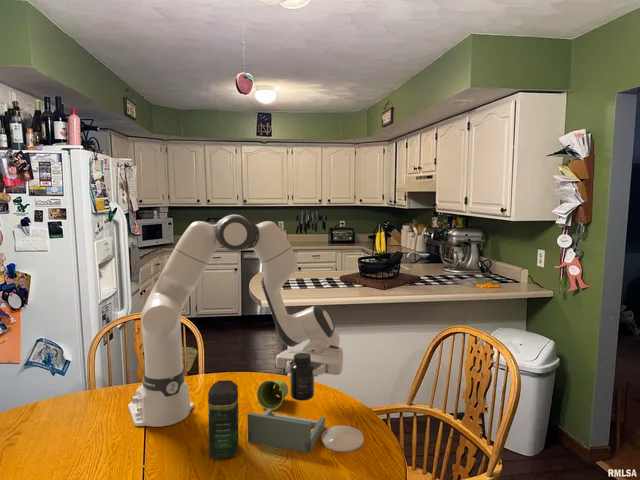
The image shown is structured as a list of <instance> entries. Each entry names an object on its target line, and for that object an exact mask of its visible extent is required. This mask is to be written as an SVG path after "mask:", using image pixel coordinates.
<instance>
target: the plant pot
mask: <svg viewBox="0 0 640 480" xmlns="http://www.w3.org/2000/svg"><path fill="white" fill-rule="evenodd" d="M257 387H258V388H257V391H256V398H257V402H258V404H259V405H260V406H261V407H262V408H264V409H265V410H267V409H268V408H270V409H272V411H274V410H277V409H279V407H281V406H282V404H283V402H284V400H285V398H286V397H287V396H288V394H289V387H288V384H287V383H286V382H285V381H284V380H281V379H280V380H279V379H278V380H270V379H269V380H268V379H267V380H265V381H262V382H261V383H260V384H259V386H257Z"/></svg>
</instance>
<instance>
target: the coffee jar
mask: <svg viewBox="0 0 640 480" xmlns="http://www.w3.org/2000/svg"><path fill="white" fill-rule="evenodd" d="M207 397H208V398H207V403H208V405H207V407H208V408H207V410H208V411H207V412H208V413H207V414H208V455H209V457H211V458H212V459H217V460H226V459H230V458H232V457H234V456H236V454H237V453H238V449H239V419H240V418H239V412H240V411H239V386H238V384H237V383H236V382H234V381H233V380H230V379H229V380H217V381H216V382H214V383H213V384H212V385H211V386H210V388H209V391H208V394H207Z"/></svg>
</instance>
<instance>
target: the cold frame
mask: <svg viewBox="0 0 640 480" xmlns="http://www.w3.org/2000/svg"><path fill="white" fill-rule="evenodd" d="M325 420H326V417H323V416H320V418H319V419H318V420H313V419H309V418H308V419H307V418H301V417H295V416H291V415H290V416H289V415H283V414H279V413H273V410H272V409H270V408H268V409H265V412H264V413H263V414H261V413H256V412H248V413H247V442H249V443H254V444H259V445H264V446H270V447H275V448H280V449H285V450H291V451H297V452H301V453H307V454H310V453H311V451H312V450H313V448H314V447H315V445H316V442H317V441H318V439H319V437H320V436H321V435H322V433H323V432H324V429H325V426H326V421H325ZM312 428H313V429H312Z"/></svg>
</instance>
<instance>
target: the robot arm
mask: <svg viewBox="0 0 640 480" xmlns="http://www.w3.org/2000/svg"><path fill="white" fill-rule="evenodd" d="M219 248H225V250H227V251H231V252H239V251H243V250H244V251H245V250H248V249H249V250H250V249H251V250H253V252H254V253H255V254H256V256H257V257H258V259H259V261H260V263H261V265H262V269H263V277H262V278H261V286H262V289H263V293H264V296H265V300H266V301H267V304H268V307H269V310H270V313H271V316H272V318H273V322H274V324H275V329H276V334H277V338H278V339H279V341H280V342H281V343H282V344H284V345H285V346H287V347H291V348H293V347H295V346H298V345H300V344H302V343H303V342H306V341H308V340H309V342H308V343H307V344H306V345H305V346H304V347H303V348H302V350H299V349H285V350H283V351H282V352H280V353H278V354H277V355H276V358H275V365H276V367H277V368H278V369H285V373H287V374H290V368H291V366H292V365H293V364H294V355H295V354H298V353H307V354H309V355H310V360H311V362H310V363H311V364H312V365H313V366H314V370H313V376H314V377H317V378H318V377H319V376H321V375H323V374H324V375H325V374H327V375H334V376H339V375H341V374H342V372H343V368H344V367H343V364H344V351H343V348H342V347H339V346H340V342H341V341H340V336H339V335H340V334H339V333H338V332H337V330H336V329H335V323H334V320H333V318H332V316H331V314H330V313H329V311H328V310H327V309H325V308H324V307H323V306H320V305H317V304H316V305H313V306H311V307H307V308H305V309H304V310H301V311H298V312H296V313H293V314H289V313H288V312H287V309H286V306H285V303H284V300H283V297H282V294H281V289H282V287H283V285H284V284H285V283H286V282H287V281H289V279H290V278H291V277H292V276H293V274H294V273H295V271H296V270H297V266H298V259H297V255H296V253H295V251H294V249H293V247H292V245H291V243H290V241H289V240H288V238H287V237H286V236H285V234H284V232H283V231H282V229H281V228H280V227H279V226H278V225H277V224H276V223H275V222H274V221H272V220H271V221H270V220H267V221H262V222H260V223H257V224H254V223H252V222H251V221H249V220H248V219H247V217H245V216H242V215H241V214H236V213H234V214H233V213H232V214H229V215H226V216H224V217H222V218H221V219H220V220H218V221H216V222H215V223H213V224H211V223H209V222H206V221H202V220H201V221H200V220H198V221H197V220H196V221H193V222H192V223H191V224H189V226H187V228H186V229H185V231H184V232H183V234H182V235H181V236H180V238H179V240H178V242H177V243H176V245H175V246H174V249H173V251H172V252H171V254H170V256H169V258H168V260H167V262H166V264H165V266H164V267H163V269H162V271H161V273H160V275H159V277H158V279H157V280H156V282H155V284H154V286H153V287H152V289H151V291H150V293H149V295H148V297H147V299H146V300H145V304H144V306H143V308H142V310H141V314H140V322H141V323H140V324H141V333H142V334H141V335H142V336H141V337H142V344H143V351H144V374H143V377H142V384H141V385H139V387H137V388H136V390H135V395H133V396H132V397H131V402H130V403H128V405H127V406H128V407H127V408H128V411H129V414H130V417H131V419H132V422H133V425H134V426H135V427H152V428H153V427H154V428H155V427H156V428H157V427H161V428H162V427H166V426H171V425H174V424H177V423H180V422H182V421H183V420H185V419H186V418H188V417H189V415H190V411H191V410H192V409H194V407H195V406H194V402H191V400H190V399H191V398H190V389H189V384H188V383H187V382H185V376H186V375H185V370H184V368H183V367H184V366H183V341H182V321H181V320H182V319H181V318H182V317H181V316H182V311H183V309H184V307H185V304H186V303H187V301H188V299H189V297H190V296H191V295H192V293H193V291H194V290H195V288H196V287H197V285H198V283H199V281H200V279H201V277H202V275H203V273H204V272H205V271H206V268H207V266H208V264H209V262H210V261H211V258H212V256H213V255H214V253H215V252H216V251H217V250H218V249H219Z"/></svg>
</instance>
